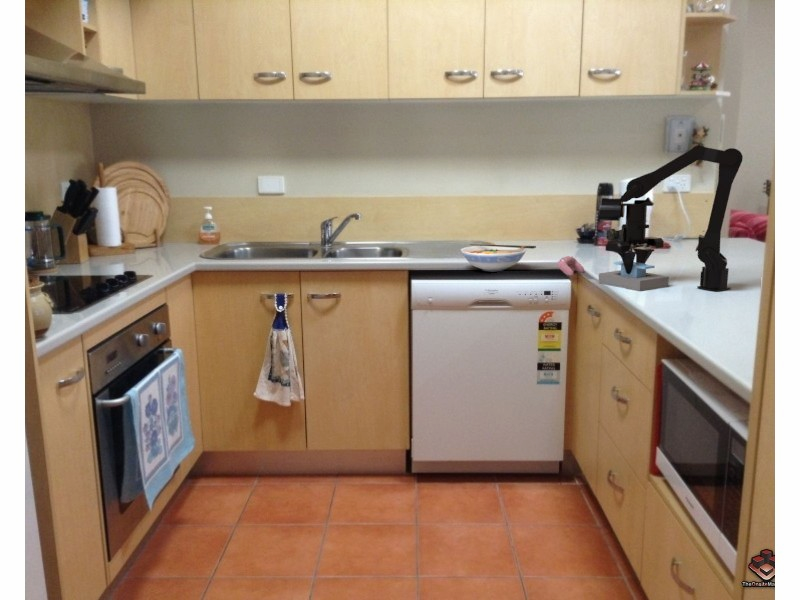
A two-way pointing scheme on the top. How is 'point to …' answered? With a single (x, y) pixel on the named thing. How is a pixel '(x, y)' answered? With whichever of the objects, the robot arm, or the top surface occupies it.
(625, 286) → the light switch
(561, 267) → the video game controller
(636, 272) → the light blue bar
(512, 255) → the ramen bowl
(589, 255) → the top surface
